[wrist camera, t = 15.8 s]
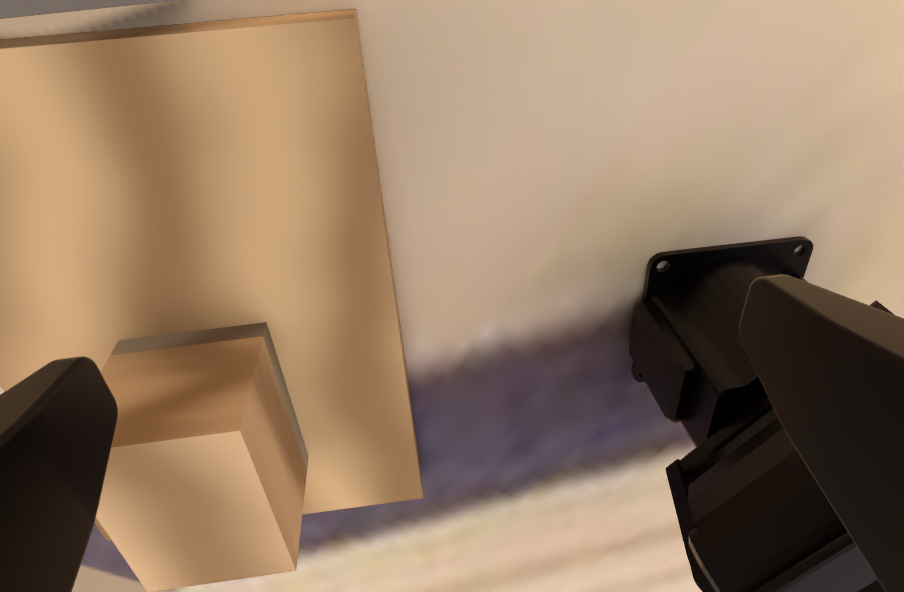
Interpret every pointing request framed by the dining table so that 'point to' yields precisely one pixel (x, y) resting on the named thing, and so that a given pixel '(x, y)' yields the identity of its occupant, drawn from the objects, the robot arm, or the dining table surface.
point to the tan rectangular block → (203, 458)
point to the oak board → (211, 220)
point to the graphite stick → (60, 6)
